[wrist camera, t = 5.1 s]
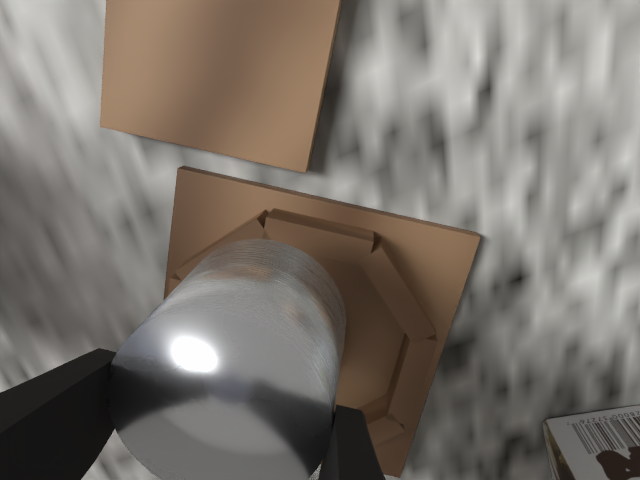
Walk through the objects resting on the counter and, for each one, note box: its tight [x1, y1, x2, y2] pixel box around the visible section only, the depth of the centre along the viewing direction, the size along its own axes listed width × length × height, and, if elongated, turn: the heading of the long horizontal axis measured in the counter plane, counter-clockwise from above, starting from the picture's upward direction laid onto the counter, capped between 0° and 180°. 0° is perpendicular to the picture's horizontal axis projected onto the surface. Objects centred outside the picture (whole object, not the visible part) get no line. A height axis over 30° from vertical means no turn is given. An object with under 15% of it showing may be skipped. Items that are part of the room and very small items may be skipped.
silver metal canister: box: [107, 239, 346, 480], centre depth 13 cm, size 5×5×4 cm
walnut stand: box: [100, 0, 343, 173], centre depth 17 cm, size 8×8×1 cm
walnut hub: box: [163, 166, 481, 478], centre depth 20 cm, size 12×12×2 cm
